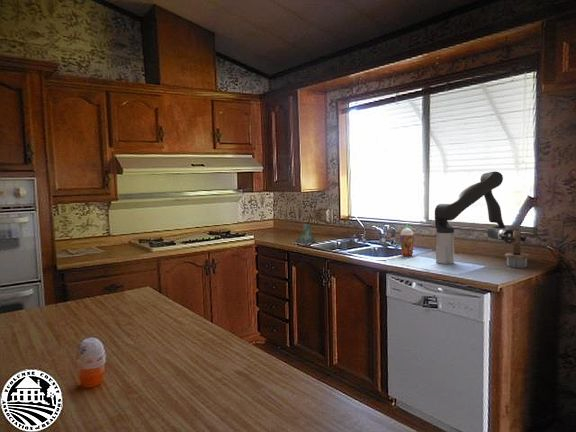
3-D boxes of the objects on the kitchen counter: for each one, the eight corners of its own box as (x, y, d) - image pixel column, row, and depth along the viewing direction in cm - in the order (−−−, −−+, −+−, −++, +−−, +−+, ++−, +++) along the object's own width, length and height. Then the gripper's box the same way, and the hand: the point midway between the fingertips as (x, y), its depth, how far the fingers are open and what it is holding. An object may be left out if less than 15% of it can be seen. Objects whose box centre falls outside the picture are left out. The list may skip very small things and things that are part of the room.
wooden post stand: (522, 259, 223) (522, 233, 222) (501, 256, 232) (501, 231, 231) (532, 256, 230) (532, 231, 229) (511, 254, 239) (511, 229, 238)
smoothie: (397, 255, 276) (397, 223, 275) (408, 253, 279) (408, 222, 277) (405, 257, 268) (405, 224, 267) (416, 255, 271) (416, 223, 270)
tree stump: (286, 244, 344) (289, 221, 346) (306, 247, 355) (309, 226, 356) (298, 245, 329) (302, 222, 330) (320, 249, 339) (323, 226, 341)
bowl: (521, 268, 225) (521, 258, 225) (504, 266, 232) (504, 256, 232) (529, 265, 230) (529, 256, 230) (512, 263, 238) (512, 254, 237)
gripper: (493, 229, 245) (504, 232, 228) (520, 228, 243) (533, 232, 226) (493, 242, 245) (504, 246, 229) (520, 242, 244) (533, 246, 227)
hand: (519, 239), depth 228 cm, fingers open, 4 cm apart
